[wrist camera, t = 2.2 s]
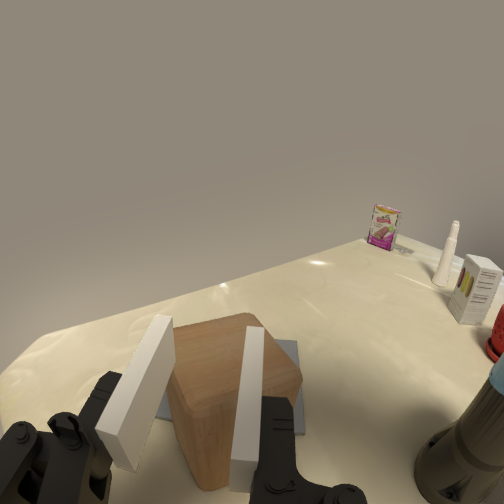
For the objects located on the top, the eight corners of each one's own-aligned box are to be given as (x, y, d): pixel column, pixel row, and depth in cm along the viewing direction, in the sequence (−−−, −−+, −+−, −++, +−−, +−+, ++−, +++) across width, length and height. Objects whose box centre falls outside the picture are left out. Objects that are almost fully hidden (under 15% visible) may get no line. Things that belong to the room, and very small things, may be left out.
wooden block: (175, 435, 34) (154, 327, 26) (241, 415, 39) (252, 306, 30) (202, 495, 26) (188, 414, 18) (275, 468, 31) (309, 373, 22)
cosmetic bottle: (436, 286, 84) (454, 222, 76) (428, 278, 90) (445, 217, 82) (449, 287, 84) (468, 225, 76) (441, 279, 90) (458, 219, 81)
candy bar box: (366, 242, 119) (373, 204, 113) (371, 240, 122) (378, 203, 116) (390, 251, 111) (398, 212, 105) (394, 249, 115) (402, 211, 109)
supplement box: (446, 306, 72) (465, 252, 66) (469, 308, 71) (488, 257, 65) (458, 324, 64) (481, 266, 57) (482, 326, 62) (504, 271, 56)
